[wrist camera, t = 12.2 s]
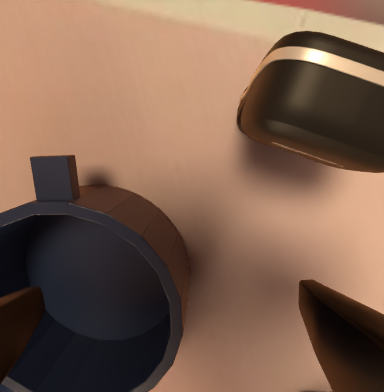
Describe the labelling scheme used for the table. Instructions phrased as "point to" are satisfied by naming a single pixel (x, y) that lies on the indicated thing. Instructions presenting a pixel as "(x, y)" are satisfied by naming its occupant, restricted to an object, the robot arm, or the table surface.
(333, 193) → the table surface
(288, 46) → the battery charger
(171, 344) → the pan
